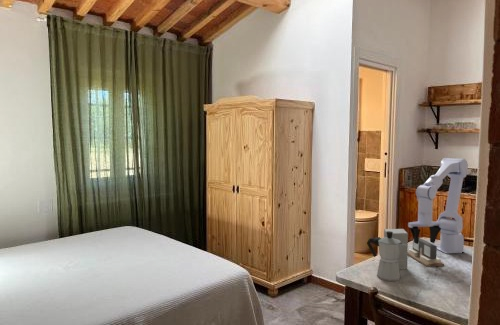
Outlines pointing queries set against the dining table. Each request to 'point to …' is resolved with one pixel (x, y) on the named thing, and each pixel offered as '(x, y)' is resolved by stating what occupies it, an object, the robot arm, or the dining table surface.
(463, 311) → the dining table surface
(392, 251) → the coffee maker
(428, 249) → the grey upright panel
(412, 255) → the display stand
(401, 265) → the skincare box
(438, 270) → the dining table surface
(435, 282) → the dining table surface
